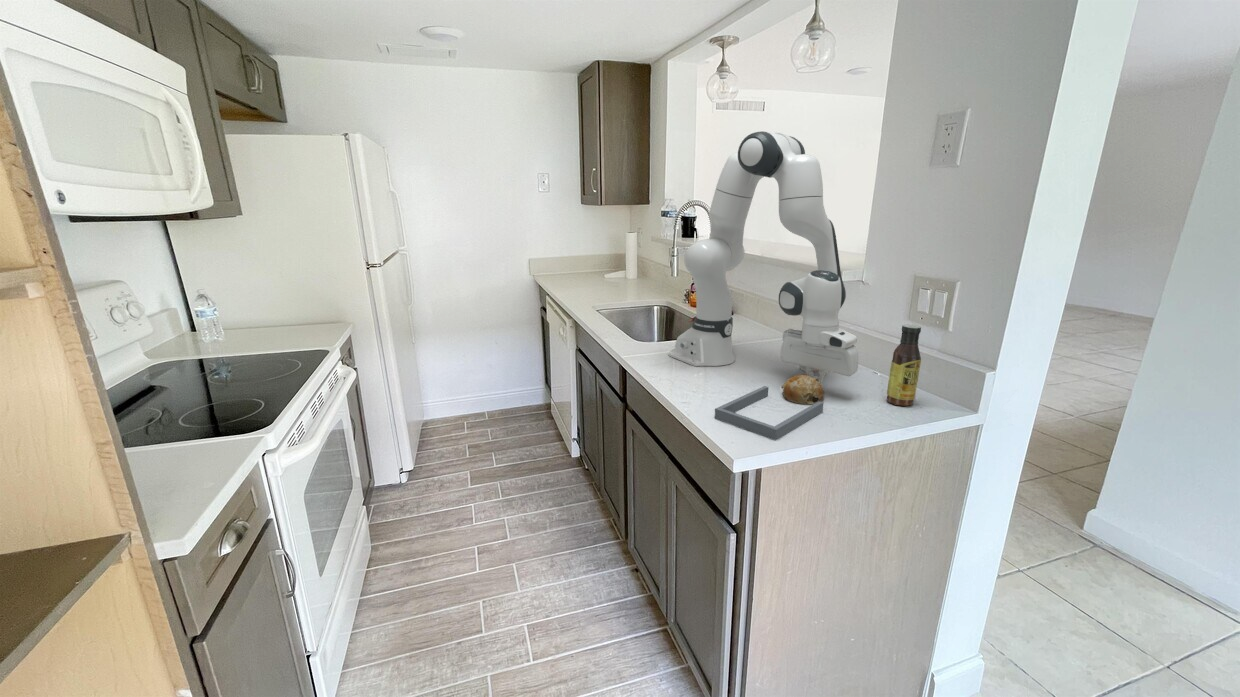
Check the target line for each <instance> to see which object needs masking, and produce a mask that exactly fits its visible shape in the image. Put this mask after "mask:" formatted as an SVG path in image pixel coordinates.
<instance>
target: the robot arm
mask: <svg viewBox="0 0 1240 697" xmlns="http://www.w3.org/2000/svg"><path fill="white" fill-rule="evenodd" d="M821 169H822V168H821V164H820V162H819V160H818V158H816V157H815V156H813V155H811V154H806V150H805V147H804V145H803V143H802V142H801V141H800V140H798V138H796V137H794V136H791V135H787V134H783V133H780V132H768V131H757V132H756V131H755V132H752V133H750V134H748V135H747V136H746V137H744V138H743V140H742V141H741V143H740V144H739V146H738V150H737V152H735V153H732V154H731V155H729V156H728V157H727V159H726V161H725V163H724V165H723V168H722V169H721V172H720V174H719V178H718V179H717V183H716V188H715V190H714V193H713V197H712V201H711V205H710V208H709V211H708V216H709V220H710V236H709V237H708V238H706V239H699V240H698V241H697V242H694V243H693V244H692V245H690V246H688V247H687V249H686V251H685V254H684V255H683V256H684V257H683V260H684V266H685V268H686V270H687V271H688V272H689V273H690V274H691V277H692V280H693V283H694V288H695V297H696V302H695V303H696V304H695V305H696V306H695V307H696V308H695V309H696V310H695V311H696V312H695V316H694V317H692V318H689V323H692V325H691V327H690V328H688V329H687V330H686V331H684V332H683V333H681V334H680V335H678V336H677V339H676V341H675V347H674V348H672V349H670V350H669V351H668V354H667V355H668V357H671V358H674V359H676V360H679V361H681V362H683V363H686V364H689V365H691V366H694V367H703V366H704V367H706V366H707V367H708V366H709V367H710V366H711V367H719V366H726V365H731V364H733V363H734V362H735V361H736V356H735V355H734V354H735V353H734V349H733V340H732V334H733V333H732V332H733V326H734V324H733V322H734V319H733V317H732V313H733V307H732V306H733V293H732V290H731V289H730V288H729V286H728V282H727V275H726V272H729V271H733V270H734V269H735V268H737V267H738V266H739V265H740V264H741V263H742V262H743V259H744V257H745V248H744V245H743V244H744V233H745V227H746V221H747V217H748V215H749V211H750V208H751V204H752V202H753V198H754V195H755V192H756V188H757V185H758V183H759V182H760V181H761V180H762V179H763V178H764V177H765V178H769V179H770V178H774V179H775V181H776V182H777V184H778V216H779V220H780V223H781V224H782V226H783V227H784V228H785V229H786V231H787V230H788V231H789V232H790V233H791V234H794V235H797V236H798V237H802V238H803V239H805V240H807V241H809V242H810V243H811V244H812V246H813V248H814V251H815V255H816V256H815V257H816V258H815V259H816V264H817V270H813V271H811V272H809V273H808V274H807V275H806V276H803V277H801V278H800V279H799V278H798V279H796V280H792V281H788V282H785V283H784V284H783V285H782V286H781V288H780V290H779V293H778V304H779V307H780V309H781V311H783V313H784V314H786V315H788V316H794V317H797V316H801V317H802V326H801V329H800V330H799V329H794V328H788V329H786V330H785V331H783V333H782V343H781V348H780V356H779V357H780V359H781V361H782V362H785V363H789V364H792V365H797V366H800V365H801V366H805V367H806V372H805V373H806V375H807V376H810V377H812V378H815V379H816V380H817V381H818V382H819V383H820V384H821V385H822V384H823V378H824V377H825V376H826V375H827V374H828V373H832V374H836V375H840V376H845V377H852V376H854V375H855V374H856V373H857V372H858V370H859V351H858V348H857V346H856V344H857V342H858V337H857V336H856V335H855V334H853V333H850V332H848V331H846V330H845V329H843V328H841V327H840V326H839V325H840V320H839V312H840V309H841V308H842V307H843V305H844V303H845V301H846V298H847V291H846V287H845V284H844V282H843V277H842V272H841V264H840V257H839V249H838V242H837V236H836V230H835V226H834V223H833V221H832V220H830V219H829V217H828V215H827V213H826V209H825V205H824V186H823V185H824V184H823V174H822V170H821ZM814 369H818V370H819V371H818V374H819V375H818V376H815V374H814V372H813V370H814Z"/></svg>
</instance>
